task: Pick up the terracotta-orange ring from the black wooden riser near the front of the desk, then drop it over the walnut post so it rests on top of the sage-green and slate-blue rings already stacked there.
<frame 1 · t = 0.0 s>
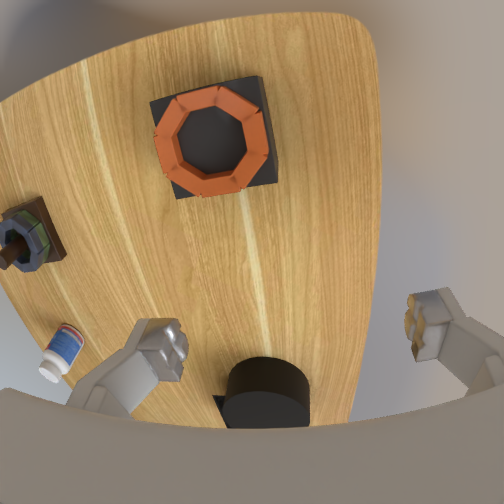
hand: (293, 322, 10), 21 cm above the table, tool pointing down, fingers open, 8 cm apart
orange ring: (212, 140, 22), point 6 cm above the table, touching riser
stack post: (35, 231, 35), on the table
black cylinder with pointer: (265, 388, 47), on the table
pill bottle: (73, 333, 46), on the table
riser: (226, 128, 27), on the table
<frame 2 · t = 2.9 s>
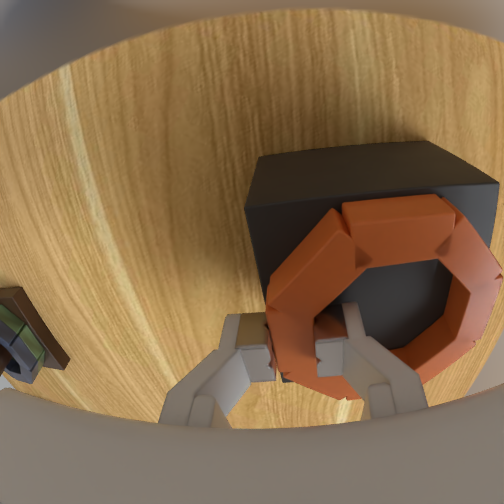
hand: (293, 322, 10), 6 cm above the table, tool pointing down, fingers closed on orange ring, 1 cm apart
orange ring: (385, 303, 10), point 6 cm above the table, touching gripper, riser
stack post: (21, 324, 23), on the table
riser: (354, 226, 15), on the table
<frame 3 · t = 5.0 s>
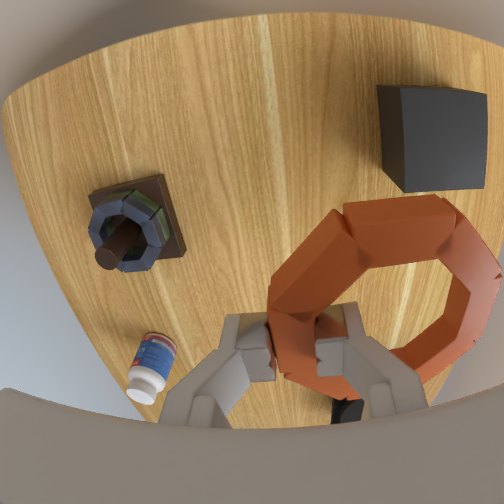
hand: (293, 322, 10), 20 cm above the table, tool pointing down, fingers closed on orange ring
orange ring: (385, 303, 10), point 20 cm above the table, touching gripper
stack post: (138, 219, 32), on the table
black cylinder with pointer: (372, 384, 45), on the table
pill bottle: (160, 343, 43), on the table
riser: (419, 127, 24), on the table
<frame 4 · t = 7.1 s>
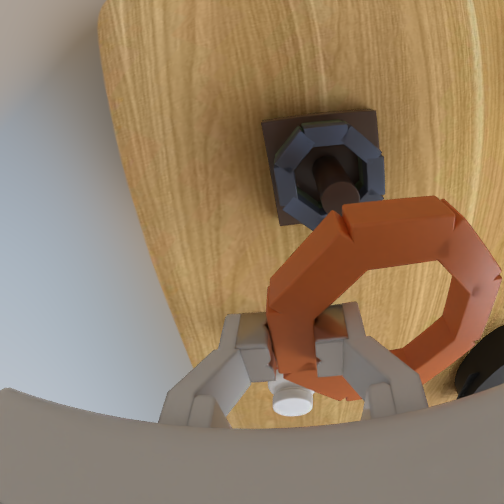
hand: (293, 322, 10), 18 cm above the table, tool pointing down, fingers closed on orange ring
orange ring: (385, 304, 10), point 17 cm above the table, touching gripper
stack post: (324, 164, 25), on the table
black cylinder with pointer: (485, 361, 37), on the table
pill bottle: (293, 336, 36), on the table
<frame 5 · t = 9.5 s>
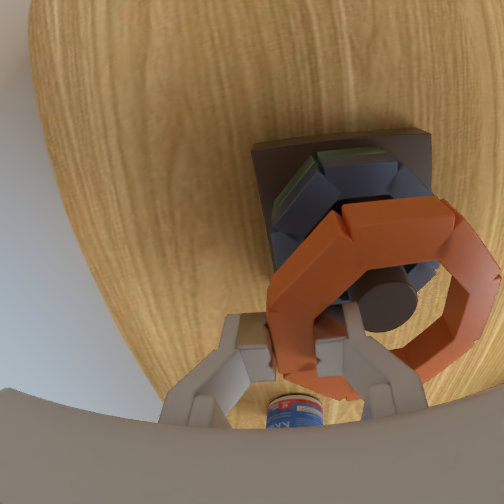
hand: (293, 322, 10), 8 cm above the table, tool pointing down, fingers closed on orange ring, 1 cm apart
orange ring: (384, 304, 10), point 8 cm above the table, touching gripper
stack post: (347, 212, 16), on the table
pill bottle: (294, 405, 28), on the table
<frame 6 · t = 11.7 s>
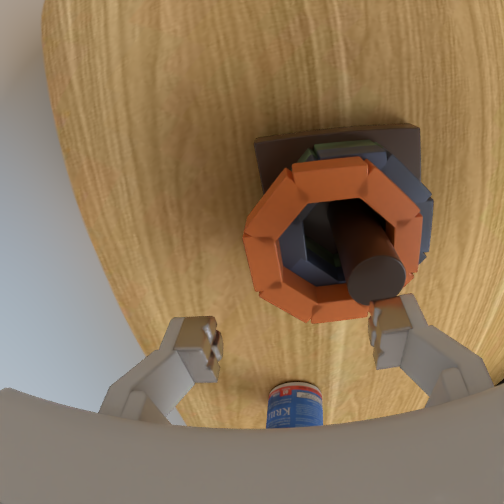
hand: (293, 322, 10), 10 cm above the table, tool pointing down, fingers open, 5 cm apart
orange ring: (333, 240, 14), point 4 cm above the table, touching stack post
stack post: (343, 201, 18), on the table
pill bottle: (294, 392, 29), on the table
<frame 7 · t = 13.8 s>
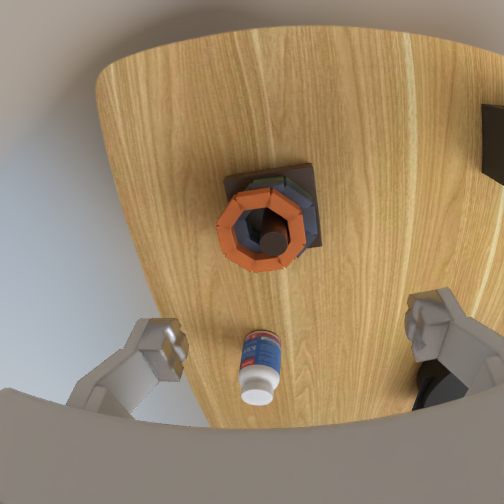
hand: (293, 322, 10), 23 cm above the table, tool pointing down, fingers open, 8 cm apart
orange ring: (261, 228, 29), point 4 cm above the table, touching stack post
stack post: (275, 208, 33), on the table
black cylinder with pointer: (445, 366, 45), on the table
pill bottle: (262, 341, 44), on the table
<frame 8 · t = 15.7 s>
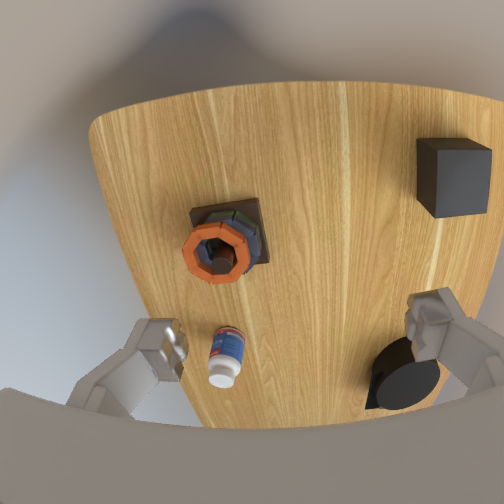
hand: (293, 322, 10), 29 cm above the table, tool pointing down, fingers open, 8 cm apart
orange ring: (217, 251, 39), point 4 cm above the table, touching stack post
stack post: (231, 233, 42), on the table
black cylinder with pointer: (399, 364, 54), on the table
pill bottle: (230, 335, 53), on the table
riser: (443, 168, 34), on the table
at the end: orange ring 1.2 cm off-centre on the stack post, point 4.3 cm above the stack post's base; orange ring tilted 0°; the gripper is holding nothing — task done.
